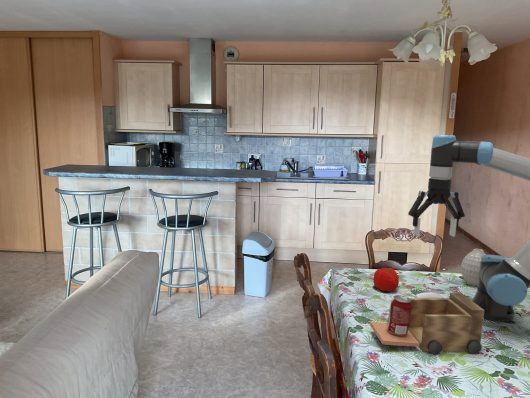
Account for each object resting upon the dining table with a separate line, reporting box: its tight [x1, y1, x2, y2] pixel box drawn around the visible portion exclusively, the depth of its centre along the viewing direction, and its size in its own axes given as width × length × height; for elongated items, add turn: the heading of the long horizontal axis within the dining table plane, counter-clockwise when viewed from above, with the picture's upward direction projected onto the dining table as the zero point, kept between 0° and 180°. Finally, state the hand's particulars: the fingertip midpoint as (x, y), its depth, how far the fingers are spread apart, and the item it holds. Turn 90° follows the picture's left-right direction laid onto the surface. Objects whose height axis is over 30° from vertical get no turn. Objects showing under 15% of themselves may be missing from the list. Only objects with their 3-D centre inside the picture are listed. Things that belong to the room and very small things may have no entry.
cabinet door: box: [369, 321, 420, 348], centre depth 138 cm, size 2×13×12 cm
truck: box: [408, 292, 485, 355], centre depth 139 cm, size 19×17×14 cm
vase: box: [460, 248, 487, 287], centre depth 193 cm, size 13×13×17 cm
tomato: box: [372, 267, 400, 292], centre depth 184 cm, size 11×12×9 cm
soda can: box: [386, 294, 412, 336], centre depth 137 cm, size 7×7×12 cm
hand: (434, 235), depth 153 cm, fingers open, 13 cm apart
